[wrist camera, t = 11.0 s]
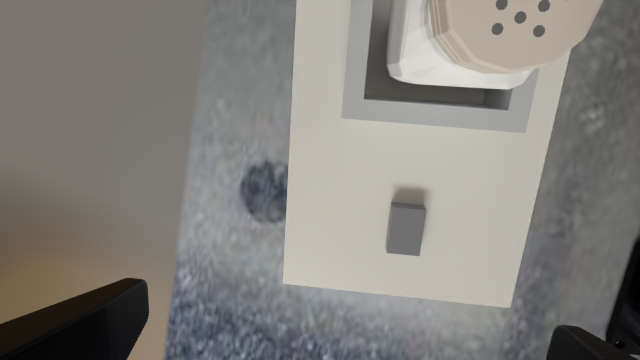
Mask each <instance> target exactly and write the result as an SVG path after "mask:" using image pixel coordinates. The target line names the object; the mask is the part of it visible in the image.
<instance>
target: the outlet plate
mask: <svg viewBox="0 0 640 360" xmlns="http://www.w3.org/2000/svg"><path fill="white" fill-rule="evenodd" d="M390 5H391V0H297V6H296V27H295V47H294V67H293V88H292V108H291V129H290V149H289V169H288V190H287V210H286V230H285V251H284V271H283V284H291V285H300V286H310V287H319V288H328V289H338V290H347V291H356V292H366V293H375V294H384V295H394V296H403V297H412V298H422V299H431V300H440V301H450V302H459V303H468V304H478V305H487V306H496V307H506V308H510V306H511V302H512V297H513V293H514V289H515V285H516V280H517V276H518V272H519V268H520V263H521V259H522V255H523V251H524V246H525V242H526V238H527V234H528V229H529V225H530V221H531V217H532V212H533V208H534V204H535V200H536V195H537V191H538V187H539V183H540V178H541V174H542V170H543V166H544V161H545V157H546V153H547V149H548V144H549V140H550V136H551V132H552V127H553V123H554V119H555V115H556V110H557V106H558V102H559V98H560V93H561V89H562V85H563V81H564V76H565V72H566V68H567V64H568V59H569V55H570V51H571V49H570V50H569V51H567V52H566V53H565V54H564V55H562V56H561V57H560V58H558V59H557V60H556V61H555V62H553V63H552V64H551V65H550V66H546V67H541V68H536V69H534V70H533V71H532V72H531V74H530V75H529V76H528V78H527V79H526V80H525V81H524V83H523V84H521V85H519V86H516V87H514V88H511V89H508V90H506V89H488V88H471V87H454V86H438V85H423V84H412V83H407V82H402V81H397V80H395V79H393V78H391V77H389V76H387V72H386V69H385V56H386V46H387V35H388V25H389V15H390Z"/></svg>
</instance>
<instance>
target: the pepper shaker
mask: <svg viewBox="0 0 640 360" xmlns="http://www.w3.org/2000/svg"><path fill="white" fill-rule="evenodd" d="M602 2H603V0H391V5H390V15H389V25H388V35H387V46H386V56H385V69H386V72H387V76H389V77H391V78H393V79H395V80H397V81H402V82H407V83H412V84H423V85H438V86H454V87H471V88H488V89H506V90H508V89H511V88H514V87H516V86H519V85H521V84H523V83H524V81H525V80H526V79H527V78H528V76H529V75H530V74H531V72H532V71H533V70H534V69H536V68H541V67H546V66H550V65H551V64H552V63H553V62H555V61H556V60H557V59H558V58H560V57H561V56H562V55H564V54H565V53H566V52H567V51H569V50H570V49H571V48H572V47H574V46H575V45H576V44H578V43H579V42H580V41H581V40H583V39H584V38H585V36H586V34H587V32H588V30H589V28H590V26H591V24H592V22H593V20H594V18H595V16H596V14H597V12H598V10H599V8H600V6H601V4H602Z"/></svg>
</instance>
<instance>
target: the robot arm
mask: <svg viewBox="0 0 640 360" xmlns="http://www.w3.org/2000/svg"><path fill="white" fill-rule="evenodd" d="M148 316H149V303H148V287H147V283H146V281H145V280H142V279H135V278H125V279H122V280H120V281H117V282H114V283H112V284H109V285H106V286H103V287H100V288H98V289H95V290H92V291H89V292H87V293H84V294H82V295H78V296H76V297H73V298H70V299H68V300H65V301H62V302H59V303H57V304H54V305H51V306H49V307H46V308H43V309H40V310H38V311H35V312H32V313H29V314H27V315H24V316H21V317H18V318H16V319H13V320H10V321H7V322H4V323H2V324H0V360H127V358H128V356H129V354H130V352H131V350H132V349H133V347H134V345H135V343H136V341H137V339H138V337H139V335H140V334H141V331H142V330H143V328H144V326H145V324H146V322H147V319H148ZM618 341H619V343H617V344H616V342H618ZM629 354H634V355H640V241H639V242H638V243H637V245H636V246H635V249H634V252H633V255H632V259H631V262H630V265H629V268H628V271H627V274H626V277H625V280H624V283H623V287H622V290H621V293H620V296H619V299H618V302H617V305H616V308H615V311H614V315H613V318H612V321H611V324H610V327H609V330H608V333H607V336H606V341H604V340H602V339H600V338H598V337H596V336H594V335H593V334H591V333H589V332H587V331H585V330H584V329H582V328H580V327H577V326H569V325H558V326H556V327H555V329H554V331H553V334H552V338H551V341H550V345H549V348H548V352H547V356H546V360H638V359H636V358H634V357H632V356H631V355H629Z"/></svg>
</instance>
